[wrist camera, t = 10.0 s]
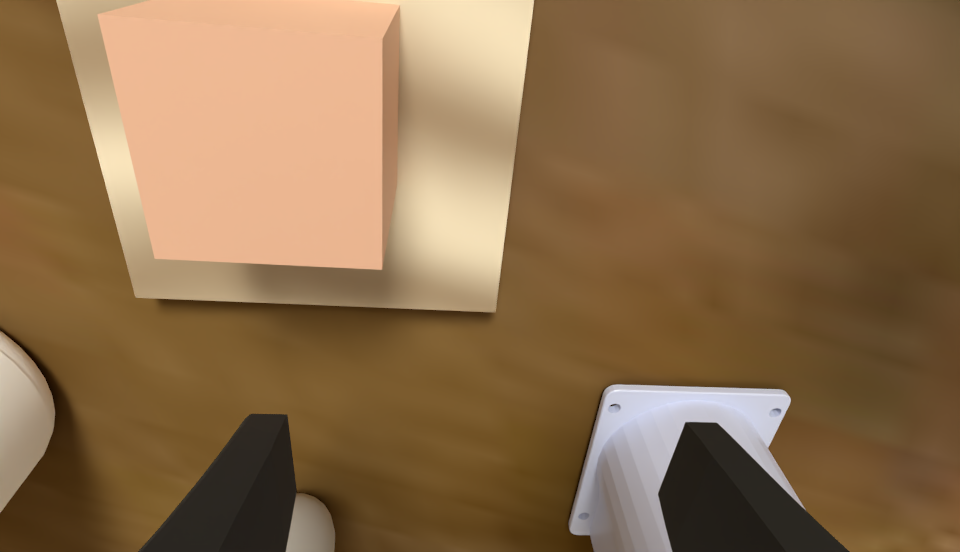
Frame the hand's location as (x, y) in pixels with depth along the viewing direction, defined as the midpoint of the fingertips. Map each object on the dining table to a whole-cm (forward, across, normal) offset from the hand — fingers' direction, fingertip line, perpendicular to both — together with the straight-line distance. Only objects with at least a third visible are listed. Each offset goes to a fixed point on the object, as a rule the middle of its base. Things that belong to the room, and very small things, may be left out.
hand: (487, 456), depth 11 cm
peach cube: (+9, +5, -4) cm, 11 cm away
